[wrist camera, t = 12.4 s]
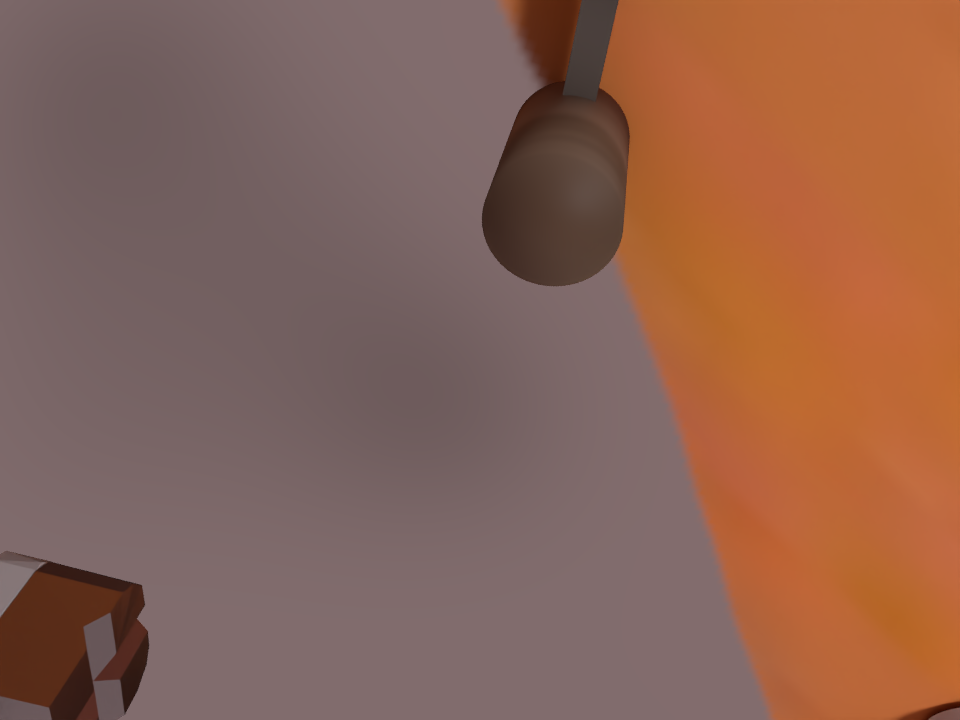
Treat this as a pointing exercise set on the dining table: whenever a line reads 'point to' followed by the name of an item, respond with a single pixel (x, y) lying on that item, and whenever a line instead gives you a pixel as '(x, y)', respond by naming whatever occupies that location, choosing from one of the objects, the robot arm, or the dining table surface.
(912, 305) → the dining table surface
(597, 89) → the corded block
